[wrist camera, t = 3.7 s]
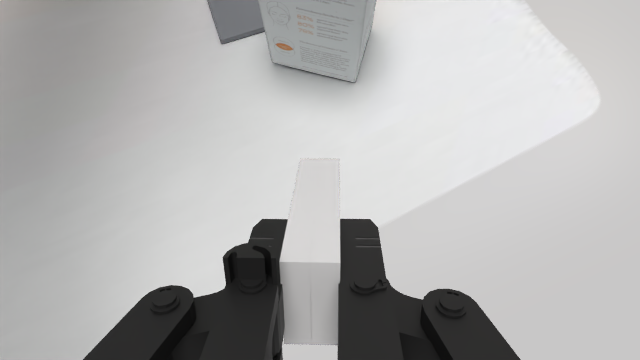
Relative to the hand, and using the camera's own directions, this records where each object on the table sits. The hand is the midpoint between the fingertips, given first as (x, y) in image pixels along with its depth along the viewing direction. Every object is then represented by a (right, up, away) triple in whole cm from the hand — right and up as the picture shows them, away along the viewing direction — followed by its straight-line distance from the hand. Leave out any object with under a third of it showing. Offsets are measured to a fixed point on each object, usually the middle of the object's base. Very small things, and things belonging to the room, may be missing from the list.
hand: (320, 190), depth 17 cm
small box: (0, +13, +23) cm, 26 cm away
